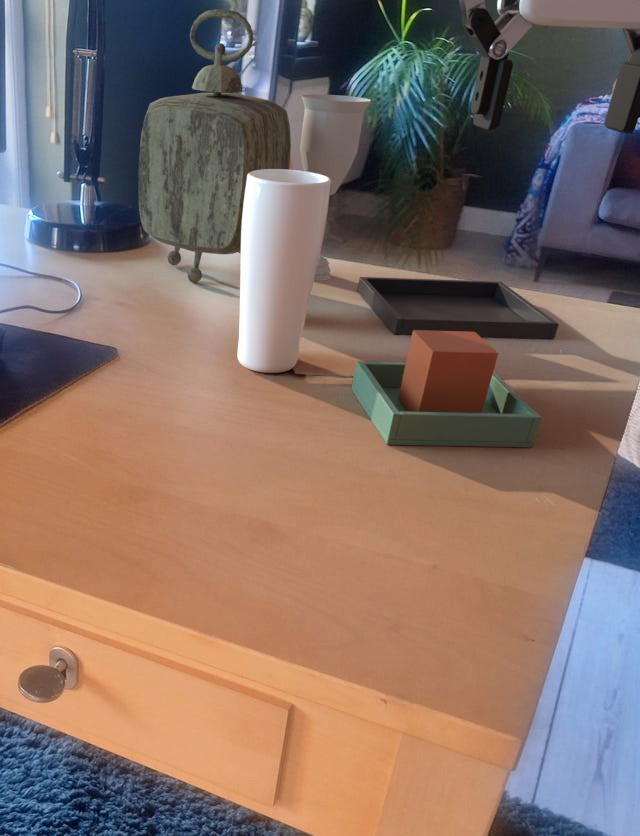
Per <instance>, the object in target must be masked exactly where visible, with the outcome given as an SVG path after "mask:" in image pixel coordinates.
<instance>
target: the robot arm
mask: <svg viewBox="0 0 640 836" xmlns="http://www.w3.org/2000/svg"><path fill="white" fill-rule="evenodd" d="M458 4H459V8H460V12H461V14H462V20H461V21H462V27H463V28H464V30H465V31H466V33H467V35H468V36H469V39H470V40H471V42H472V43H473V45H474V47H475V52H476V54H477V56H478V57H480V61H479V65H478V68H477V69H478V70H477V75H476V79H475V84H474V90H473V94H472V99H471V104H470V112H471V114H473V120H472V121H473V125H474V126H476V127H479V128H482V129H484V130H486V131H491V130H492V131H495V130H496V129H498V128H499V127H500V125H501V121H502V120H501V119H502V117H503V116H502V115H503V111H504V106H505V103H506V100H507V99H506V98H507V94H508V91H509V90H508V89H509V84H510V81H511V77H512V73H513V67H514V65H513V60H512V59H509V54H510V51H511V50H512V49H513V48H514V47H515V46H516V45H517V44H518V43H519V42H520V40H521V39H523V37H524V36H525V35H526V34H527V33H528V32H529V31H530V30H531V29H532V27H533V26H534V25H538V26H545V27H568V28H569V27H570V28H592V29H594V28H595V29H597V28H598V29H622V33H623V35H624V37H625V40H626V42H627V46H628V47H629V51H630V53H631V55H630V56H631V57H630V60H623V63H622V64H621V65H620V67H619V69H618V70H619V71H618V73H617V77H616V81H615V84H614V88H613V91H612V95H611V98H610V102H609V105H608V108H607V112H606V114H605V118H604V122H603V124H604V125H603V126H604V127H606V129H608V130H611V131H615V132H618V133H621V134H633V133H634V132H635V130H636V127H637V125H638V121H639V119H640V0H497V1H496V7H497V8H496V10H497V14H498V15H500V16H499V17H498V18H497V19H496V20H495V21H494V19H493V18H492V16H491V14H490V12H489V11H488V9H487V7H486V0H458Z"/></svg>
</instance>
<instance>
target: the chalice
mask: <svg viewBox="0 0 640 836" xmlns="http://www.w3.org/2000/svg"><path fill="white" fill-rule="evenodd" d="M301 100H302V103H303V106H304V113H303V119H302V120H303V121H302V128H301V129H302V130H301V139H300V144H299V145H300V146H299V151H300V157H301V163H302V168H303V171H306V172H312V173H317V174H321V175H324V176H327V177H328V178H330V180H331V186H330V196H332V195H335V194H336V193H337V191H338V189H340V187H341V185H342V183H343V182H344V180H345V178H346V177H347V175H348V173H349V171H350V169H351V167H352V165H353V163H354V161H355V159H356V157H357V154H358V152H359V145H360V139H361V133H362V132H361V131H362V125H363V120H364V113H365V111H366V109H367V107H368V105H370V103H371V99H369V98H365V97H358V96H351V95H340V94H339V95H338V94H322V93H321V94H319V93H317V94H302V95H301ZM325 235H326V232H325V233H324V236H325ZM329 265H330V262H329V260H328V259H327V258H326V257H325V256H323V255H322V251H321V252H320V257H319V261H318V265H317V270H316V274H315V278H314V281H325V280H326V281H327V280H329V279H331V278H332V275H331V268H330V266H329Z"/></svg>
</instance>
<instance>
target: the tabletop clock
mask: <svg viewBox="0 0 640 836" xmlns="http://www.w3.org/2000/svg"><path fill="white" fill-rule="evenodd" d="M213 18H226V19H230V20H233V21H236V22H238V23H240V24H241V25H242V26H243V28H244V29H245V31H246V33H247V37H248V41H247V44H246V46H245V47H244V48H242V49H241V50H239V51H235V52H232V53H226V48H227V47H226V46H225V44H223V43H221V42H219V43H217V44H215V47H214V51H209V50H207V49H204V48H202V47H201V46H200V45H199V44H198V43H197V41H196V37H195V34H196V31H197V29H198V28H199V26H200V25H201V24H202V23H203V22H205V21H206V20H209V19H213ZM189 40H190V43H191V47H192V48H193V50H194V51H195V52H196V53H197V55H199V56H201V57H202V58H204V59H206V60H209V61H212V62H213V64H209V65H206V66H203V67H202V68H201V69H200V71H198V73H197V74H196V76H195V78H194V81H193V83H192V86H191V89H192V90H195V91H202V92H199V93H190V94H189V93H188V94H181V95H173V96H166V97H162V98H161V97H160V98H158V99H156V100H154V101H152V102H150V103H149V104H148V108H147V110H146V114H145V116H144V119H143V124H142V128H141V135H140V144H139V157H138V169H137V171H138V173H137V175H138V176H137V177H138V179H137V180H138V181H137V182H138V185H137V186H138V210H139V219H140V222H141V226H142V230H143V231H144V232H145V233H146V234H147V235H148V236H150V237H151V238H153V239H154V240H155V241H158V242H160V243H162V244H165V245H169V246H172V247H173V250H172V251H170V252H169V253H168V254H167V262H168V263H169V264H170V266H177V265H179V264H180V263H181V262H182V256H181V253H180V250H181V249H183V250H185V251H189V252H194V260H193V267H191V268H190V269H189V270H188V271H187V279H188V281H189V282H190V283H193V284H196V283H199V282H200V281H201V279H202V270H201V269H200V268H199V267H200V263H201V259H202V255H203V253H204V254H213V255H214V254H215V255H234V254H236V253H238V254H239V255H241V225H242V212H243V202H244V194H245V187H246V180H247V174H248V173H249V172H251V171H255V170H262V169H286V170H290V167H291V148H292V147H291V146H292V144H291V143H292V138H291V125H290V119H289V114H288V111H287V110H286V109H285V108H284V107H282V106H281V105H279V104H278V103H276V102H274V101H272V100H269V99H266V98H261V97H257V96H251V95H247V94H241V93H243V92H244V90H243V85H242V81H241V78H240V76H239V74H238V73H237V72H236V70H235V69H233V68H232V67H231V66H229V65H225V63H226V62H234V61H237V60H239V59H242V58H244V57H245V56H246V55H247V54H248V52H249V51H250V50H251V48H252V46H253V42H254V31H253V29H252V25H251V24H250V22H249V21H248V19H247V18H246V17H245V16H243V14H241V13H240V12H238V11H235V10H231V9H227V8H225V9H223V8H214V9H209V10H208V9H207V10H206V11H204V12H203V13H201V14H199V15H198V17H196V19H195V20H194V21H193V23H192V26H191V27H190V33H189Z"/></svg>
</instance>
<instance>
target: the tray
mask: <svg viewBox="0 0 640 836" xmlns="http://www.w3.org/2000/svg"><path fill="white" fill-rule="evenodd" d="M405 365H406V362H403V361H402V362H397V361H362V360H361V361H360V360H359V361H358V360H357V361H356V363H355V368H354V373H353V379H352V385H351V390H352V392H353V394H354V395H355V397H356V398H357V401H358V402H359V403H360V405H361V406H362V408H363V409H364V411H365V413H366V415H367V416H368V417H369V419H370V421H371V422H372V424H373V425H374V427H375V428H376V430H377V432H378V433H379V434H380V437H381V438H382V440H383V441H384V443H385V444H386V446H429V447H430V446H431V447H432V446H433V447H434V446H436V447H437V446H438V447H440V446H441V447H484V448H485V447H486V448H533V446H534V443H535V439H536V437H537V434H538V430H539V427H540V425H541V420H542V416H541V414H539V413H538V412H537V411H536V410H534V408H533V407H532V406H530V404H528V403H527V402H526V401H525V399H523V398H522V397H521V396H520V395H519V394H518V393H517V391H515V390H514V389H513V388H512V386H510V385H509V383H507V382H506V381H505V380H504V379H503V378H501V376H500V375H499V374H497V373H496V372H495V370H494V371H493V374H492V378H491V382H490V385H489V389H488V392H487V396H486V400H485V403H484V407H483V410H482V413H450V412H407V411H406V409H405V408H404V407H403V405H402V404H401V402H400V401H399V400H398V397H399V393H400V388H401V383H402V379H403V374H404V370H405Z"/></svg>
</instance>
